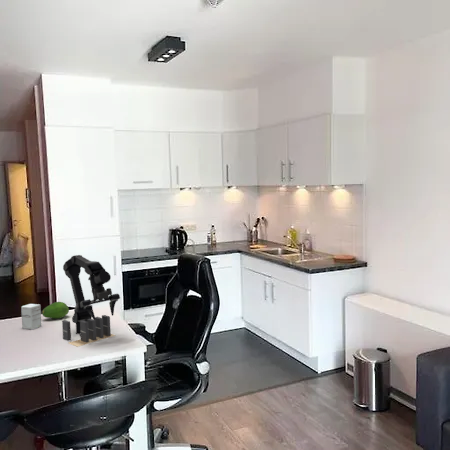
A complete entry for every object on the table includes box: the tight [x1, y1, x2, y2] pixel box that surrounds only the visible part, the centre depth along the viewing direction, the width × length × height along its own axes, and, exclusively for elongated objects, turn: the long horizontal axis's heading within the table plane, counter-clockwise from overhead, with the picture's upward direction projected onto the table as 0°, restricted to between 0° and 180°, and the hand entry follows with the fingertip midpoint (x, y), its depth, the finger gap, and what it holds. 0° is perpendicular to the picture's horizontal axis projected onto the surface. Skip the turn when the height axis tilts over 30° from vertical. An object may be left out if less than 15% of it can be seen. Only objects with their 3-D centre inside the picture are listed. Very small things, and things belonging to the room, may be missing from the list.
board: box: [68, 333, 117, 348], centre depth 235 cm, size 22×9×1 cm, turn 137°
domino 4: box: [95, 316, 104, 338], centre depth 237 cm, size 2×5×10 cm, turn 47°
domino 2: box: [79, 320, 89, 343], centre depth 231 cm, size 2×5×10 cm, turn 47°
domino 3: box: [87, 318, 96, 340], centre depth 234 cm, size 2×5×10 cm, turn 47°
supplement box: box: [20, 303, 42, 330], centre depth 259 cm, size 7×7×13 cm
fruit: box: [41, 301, 70, 320], centre depth 276 cm, size 15×10×10 cm, turn 120°
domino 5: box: [101, 314, 112, 336], centre depth 240 cm, size 2×5×10 cm, turn 47°
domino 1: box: [61, 319, 72, 342], centre depth 235 cm, size 2×5×10 cm, turn 47°
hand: (103, 317), depth 229 cm, fingers open, 9 cm apart
